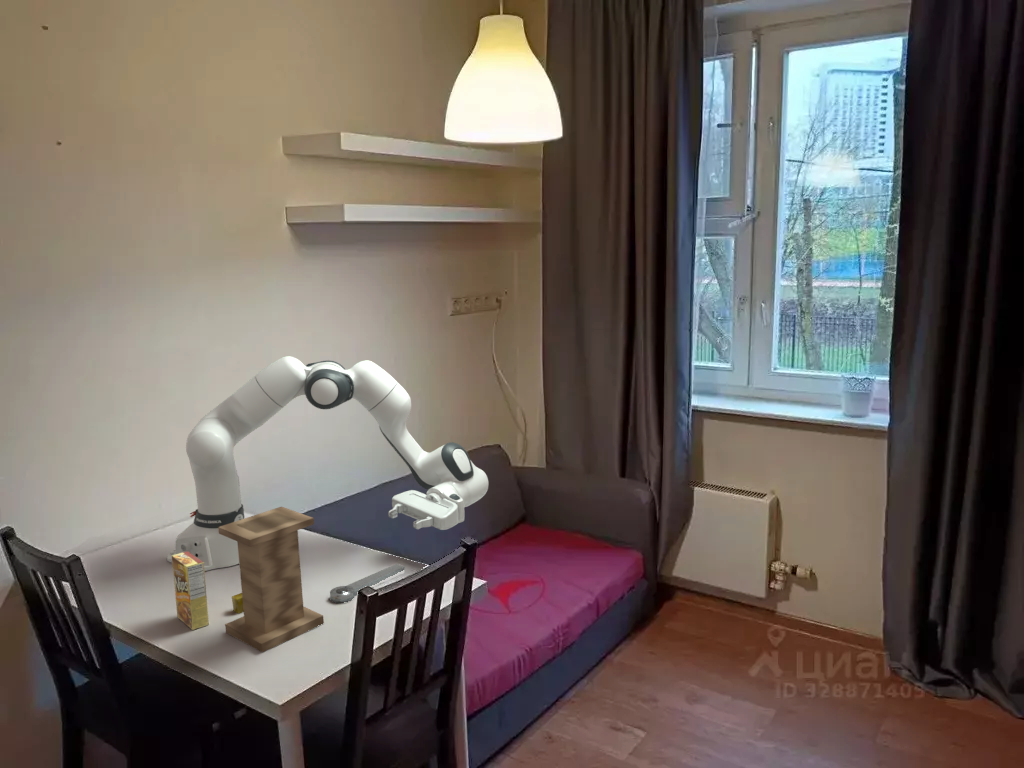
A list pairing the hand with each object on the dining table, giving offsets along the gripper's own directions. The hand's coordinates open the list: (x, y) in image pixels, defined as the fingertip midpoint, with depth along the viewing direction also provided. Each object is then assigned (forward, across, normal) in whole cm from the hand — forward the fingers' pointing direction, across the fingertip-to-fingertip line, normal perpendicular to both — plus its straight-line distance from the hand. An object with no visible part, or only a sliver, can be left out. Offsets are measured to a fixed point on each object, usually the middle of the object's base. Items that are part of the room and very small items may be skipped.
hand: (402, 520), depth 214 cm
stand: (+41, +2, +9) cm, 42 cm away
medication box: (+37, -11, +11) cm, 40 cm away
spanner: (+14, +2, +12) cm, 19 cm away
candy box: (+51, -15, +10) cm, 54 cm away
